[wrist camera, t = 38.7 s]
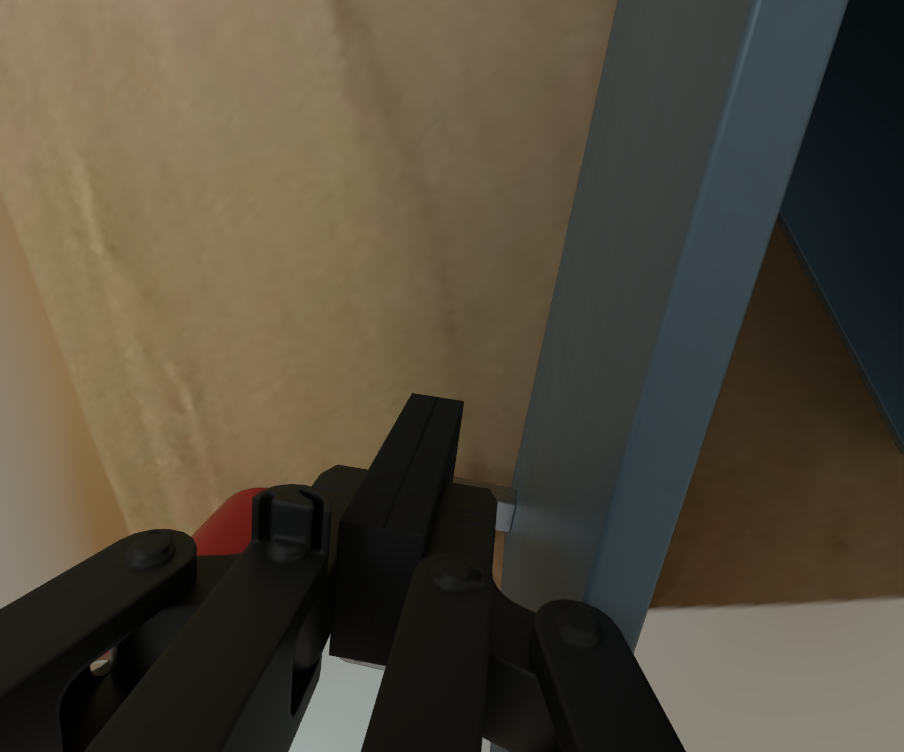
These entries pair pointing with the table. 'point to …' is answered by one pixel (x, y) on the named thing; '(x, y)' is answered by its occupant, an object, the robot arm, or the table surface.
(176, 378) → the table surface
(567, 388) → the fridge door
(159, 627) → the robot arm
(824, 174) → the fridge
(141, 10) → the table surface
